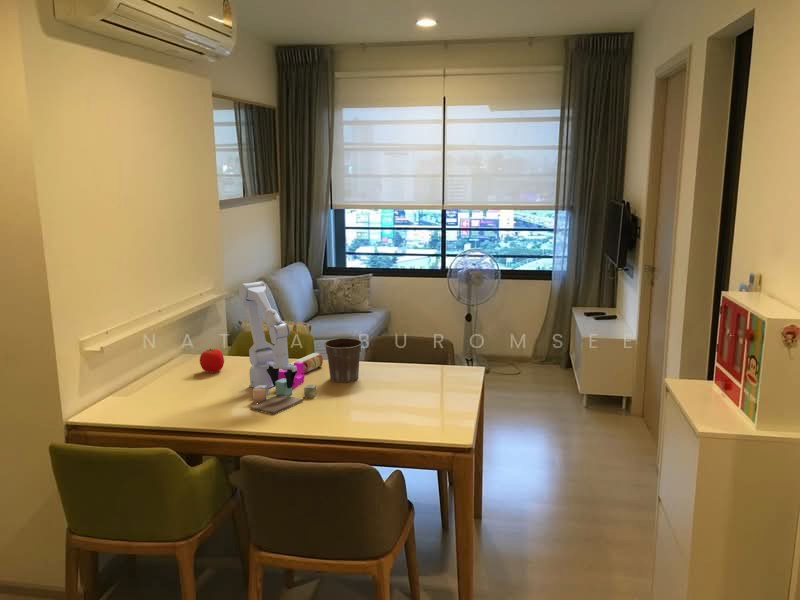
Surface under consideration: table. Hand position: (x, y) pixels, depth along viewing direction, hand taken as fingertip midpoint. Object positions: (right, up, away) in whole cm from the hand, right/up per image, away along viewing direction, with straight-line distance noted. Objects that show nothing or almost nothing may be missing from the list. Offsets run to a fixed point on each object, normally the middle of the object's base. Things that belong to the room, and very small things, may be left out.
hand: (282, 386), depth 255 cm
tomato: (-38, +2, +35) cm, 52 cm away
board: (0, -6, -11) cm, 12 cm away
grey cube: (-9, -4, 0) cm, 9 cm away
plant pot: (+23, 0, +20) cm, 31 cm away
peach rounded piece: (-8, -5, -6) cm, 11 cm away
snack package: (+4, +2, +31) cm, 31 cm away
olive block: (+11, -4, 0) cm, 12 cm away
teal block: (0, -4, +1) cm, 4 cm away
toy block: (+2, -1, +15) cm, 15 cm away
